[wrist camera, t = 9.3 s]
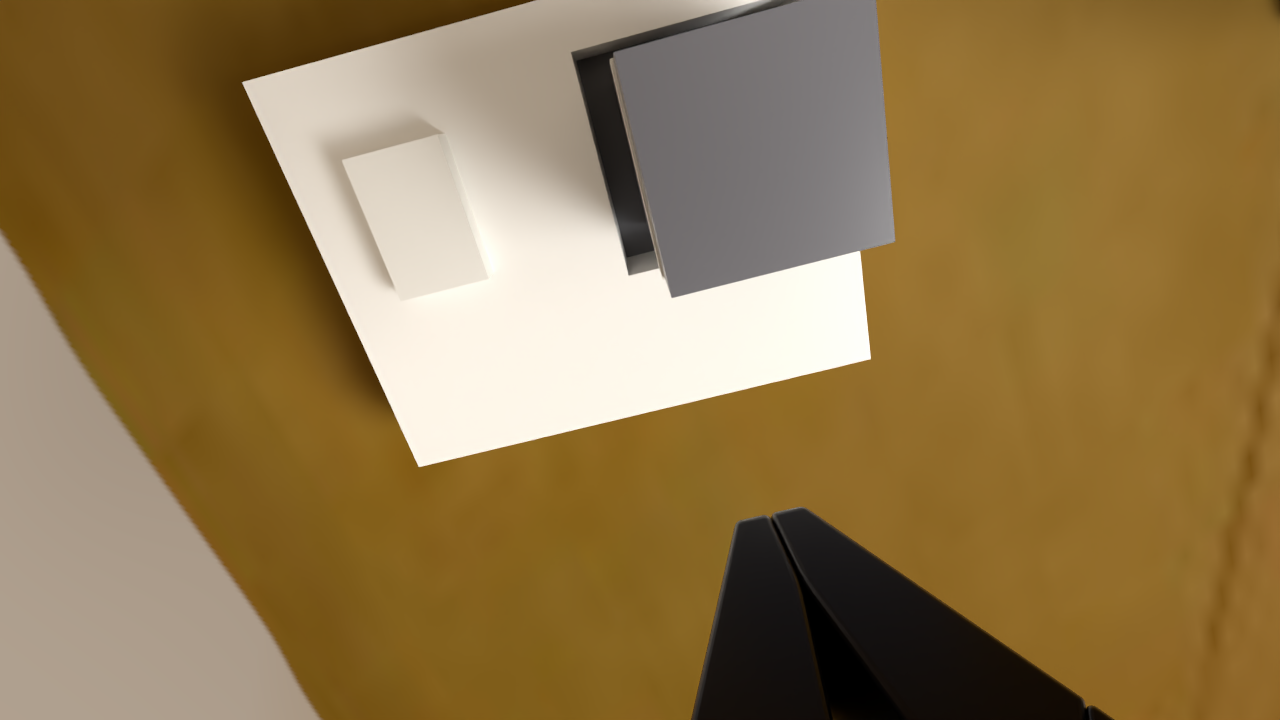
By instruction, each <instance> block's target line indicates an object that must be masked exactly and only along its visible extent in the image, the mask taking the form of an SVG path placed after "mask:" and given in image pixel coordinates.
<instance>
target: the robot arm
mask: <svg viewBox="0 0 1280 720" xmlns="http://www.w3.org/2000/svg"><path fill="white" fill-rule="evenodd" d="M691 720H1114V719H1113V718H1111V717H1110V716H1108V715H1107V714H1106V713H1104V712H1103V711H1101V710H1100V709H1098V708H1097V707H1095V706H1092V705H1091V706H1088V707H1087V708H1086V705H1085V701H1084V699H1083V698H1082V697H1080V696H1079V695H1077V694H1076V693H1074V692H1073V691H1072V690H1070V689H1069V688H1067V687H1066V686H1064V685H1063V684H1061V683H1060V682H1058V681H1057V680H1056V679H1054V678H1053V677H1051V676H1050V675H1048V674H1047V673H1045V672H1044V671H1042V670H1041V669H1040V668H1038V667H1037V666H1035V665H1034V664H1032V663H1031V662H1029V661H1028V660H1026V659H1025V658H1024V657H1022V656H1021V655H1019V654H1018V653H1016V652H1015V651H1013V650H1012V649H1010V648H1009V647H1008V646H1006V645H1005V644H1003V643H1002V642H1000V641H999V640H997V639H996V638H994V637H993V636H992V635H990V634H989V633H987V632H986V631H984V630H983V629H981V628H980V627H978V626H977V625H976V624H974V623H973V622H971V621H970V620H968V619H967V618H965V617H964V616H962V615H961V614H960V613H958V612H957V611H955V610H954V609H952V608H951V607H949V606H948V605H946V604H945V603H944V602H942V601H941V600H939V599H938V598H936V597H935V596H933V595H932V594H931V593H929V592H928V591H926V590H925V589H923V588H922V587H920V586H919V585H917V584H916V583H915V582H913V581H912V580H910V579H909V578H907V577H906V576H904V575H903V574H901V573H900V572H899V571H897V570H896V569H894V568H893V567H891V566H890V565H888V564H887V563H885V562H884V561H883V560H881V559H880V558H878V557H877V556H875V555H874V554H872V553H871V552H869V551H868V550H867V549H865V548H864V547H862V546H861V545H859V544H858V543H856V542H855V541H853V540H852V539H851V538H849V537H848V536H846V535H845V534H843V533H842V532H840V531H839V530H837V529H836V528H835V527H833V526H832V525H830V524H829V523H827V522H826V521H824V520H823V519H821V518H820V517H819V516H817V515H816V514H814V513H813V512H811V511H810V510H808V509H807V508H804V507H797V508H792V509H788V510H784V511H779V512H775V513H774V514H773V515H772V517H771V518H770V517H768V516H766V515H762V516H757V517H753V518H748V519H744V520H740V521H738V522H737V523H736V525H735V528H734V532H733V537H732V541H731V546H730V550H729V554H728V559H727V563H726V568H725V572H724V577H723V581H722V585H721V590H720V594H719V599H718V603H717V608H716V612H715V616H714V621H713V625H712V630H711V634H710V639H709V643H708V647H707V652H706V656H705V661H704V665H703V670H702V674H701V678H700V683H699V687H698V692H697V696H696V700H695V705H694V709H693V714H692V718H691Z"/></svg>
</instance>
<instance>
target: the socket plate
mask: <svg viewBox="0 0 1280 720" xmlns="http://www.w3.org/2000/svg"><path fill="white" fill-rule="evenodd" d="M797 1H801V0H536V1H532V2H529V3H525V4H521V5H518V6H514V7H511V8H507V9H503V10H500V11H496V12H493V13H489V14H485V15H482V16H478V17H475V18H471V19H467V20H464V21H460V22H457V23H453V24H450V25H446V26H442V27H439V28H435V29H432V30H428V31H424V32H421V33H417V34H414V35H410V36H406V37H403V38H399V39H396V40H392V41H388V42H385V43H381V44H378V45H374V46H370V47H367V48H363V49H360V50H356V51H352V52H349V53H345V54H342V55H338V56H335V57H331V58H327V59H324V60H320V61H317V62H313V63H309V64H306V65H302V66H299V67H295V68H291V69H288V70H284V71H281V72H277V73H273V74H270V75H266V76H263V77H259V78H255V79H252V80H248V81H245V82H242V84H243V86H244V88H245V90H246V92H247V94H248V97H249V99H250V101H251V103H252V105H253V107H254V110H255V112H256V114H257V116H258V118H259V121H260V123H261V125H262V127H263V129H264V131H265V134H266V136H267V138H268V140H269V142H270V144H271V147H272V149H273V151H274V153H275V155H276V157H277V160H278V162H279V164H280V166H281V168H282V171H283V173H284V175H285V177H286V179H287V181H288V184H289V186H290V188H291V190H292V192H293V194H294V197H295V199H296V201H297V203H298V205H299V207H300V210H301V212H302V214H303V216H304V218H305V220H306V223H307V225H308V227H309V229H310V231H311V234H312V236H313V238H314V240H315V242H316V244H317V247H318V249H319V251H320V253H321V255H322V257H323V260H324V262H325V264H326V266H327V268H328V270H329V273H330V275H331V277H332V279H333V281H334V284H335V286H336V288H337V290H338V292H339V294H340V297H341V299H342V301H343V303H344V305H345V307H346V310H347V312H348V314H349V316H350V318H351V320H352V323H353V325H354V327H355V329H356V331H357V334H358V336H359V338H360V340H361V342H362V344H363V347H364V349H365V351H366V353H367V355H368V357H369V360H370V362H371V364H372V366H373V368H374V370H375V373H376V375H377V377H378V379H379V381H380V383H381V386H382V388H383V390H384V392H385V394H386V397H387V399H388V401H389V403H390V405H391V407H392V410H393V412H394V414H395V416H396V418H397V420H398V423H399V425H400V427H401V429H402V431H403V433H404V436H405V438H406V440H407V442H408V444H409V447H410V449H411V451H412V453H413V455H414V457H415V460H416V462H417V464H418V466H419V467H421V466H425V465H430V464H434V463H438V462H442V461H446V460H450V459H455V458H459V457H463V456H467V455H471V454H476V453H480V452H484V451H488V450H492V449H496V448H501V447H505V446H509V445H513V444H517V443H521V442H526V441H530V440H534V439H538V438H542V437H547V436H551V435H555V434H559V433H563V432H567V431H572V430H576V429H580V428H584V427H588V426H593V425H597V424H601V423H605V422H609V421H613V420H618V419H622V418H626V417H630V416H634V415H639V414H643V413H647V412H651V411H655V410H659V409H664V408H668V407H672V406H676V405H680V404H685V403H689V402H693V401H697V400H701V399H705V398H710V397H714V396H718V395H722V394H726V393H731V392H735V391H739V390H743V389H747V388H751V387H756V386H760V385H764V384H768V383H772V382H777V381H781V380H785V379H789V378H793V377H797V376H802V375H806V374H810V373H814V372H818V371H823V370H827V369H831V368H835V367H839V366H843V365H848V364H852V363H856V362H860V361H864V360H869V359H871V357H870V347H869V337H868V327H867V317H866V307H865V297H864V287H863V277H862V267H861V257H860V251H857V252H853V253H849V254H845V255H841V256H837V257H833V258H829V259H825V260H821V261H817V262H813V263H809V264H805V265H801V266H797V267H793V268H790V269H786V270H782V271H778V272H774V273H770V274H766V275H762V276H758V277H754V278H750V279H746V280H742V281H738V282H734V283H730V284H726V285H722V286H718V287H714V288H710V289H706V290H702V291H698V292H694V293H690V294H686V295H683V296H679V297H675V298H671V295H670V292H669V289H668V286H667V283H666V280H663V279H662V276H661V273H660V270H659V266H658V262H657V258H656V253H655V249H654V245H653V241H652V238H651V235H650V232H649V229H648V226H647V222H646V218H645V214H644V210H643V206H642V202H641V198H640V193H639V189H638V185H637V181H636V177H635V173H634V169H633V164H632V160H631V156H630V152H629V148H628V144H627V140H626V135H625V131H624V127H623V123H622V119H621V115H620V111H619V106H618V102H617V98H616V94H615V90H614V86H613V75H612V70H611V66H610V59H611V58H613V52H616V51H620V50H624V49H627V48H631V47H634V46H638V45H642V44H645V43H649V42H653V41H656V40H660V39H663V38H667V37H671V36H674V35H678V34H682V33H685V32H689V31H692V30H696V29H700V28H703V27H707V26H711V25H714V24H718V23H721V22H725V21H729V20H732V19H736V18H739V17H743V16H747V15H750V14H754V13H758V12H761V11H765V10H768V9H772V8H776V7H779V6H783V5H787V4H790V3H794V2H797Z"/></svg>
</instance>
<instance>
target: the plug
mask: <svg viewBox="0 0 1280 720" xmlns="http://www.w3.org/2000/svg"><path fill="white" fill-rule="evenodd" d="M610 66H611V70H612V75H613V86H614V90H615V94H616V98H617V102H618V106H619V111H620V115H621V119H622V123H623V127H624V131H625V135H626V140H627V144H628V148H629V152H630V156H631V160H632V164H633V169H634V173H635V177H636V181H637V185H638V189H639V193H640V198H641V202H642V206H643V210H644V214H645V218H646V222H647V226H648V229H649V232H650V235H651V238H652V241H653V245H654V249H655V253H656V258H657V262H658V266H659V270H660V273H661V276H662V279H663V280H666V283H667V286H668V289H669V292H670V295H671V298H675V297H679V296H683V295H686V294H690V293H694V292H698V291H702V290H706V289H710V288H714V287H718V286H722V285H726V284H730V283H734V282H738V281H742V280H746V279H750V278H754V277H758V276H762V275H766V274H770V273H774V272H778V271H782V270H786V269H790V268H793V267H797V266H801V265H805V264H809V263H813V262H817V261H821V260H825V259H829V258H833V257H837V256H841V255H845V254H849V253H853V252H857V251H861V250H865V249H869V248H873V247H877V246H881V245H885V244H889V243H893V242H895V233H894V220H893V208H892V195H891V183H890V170H889V158H888V145H887V133H886V120H885V108H884V95H883V83H882V70H881V58H880V45H879V33H878V20H877V8H876V0H801V1H797V2H794V3H790V4H787V5H783V6H779V7H776V8H772V9H768V10H765V11H761V12H758V13H754V14H750V15H747V16H743V17H739V18H736V19H732V20H729V21H725V22H721V23H718V24H714V25H711V26H707V27H703V28H700V29H696V30H692V31H689V32H685V33H682V34H678V35H674V36H671V37H667V38H663V39H660V40H656V41H653V42H649V43H645V44H642V45H638V46H634V47H631V48H627V49H624V50H620V51H616V52H613V58H611V59H610Z"/></svg>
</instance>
